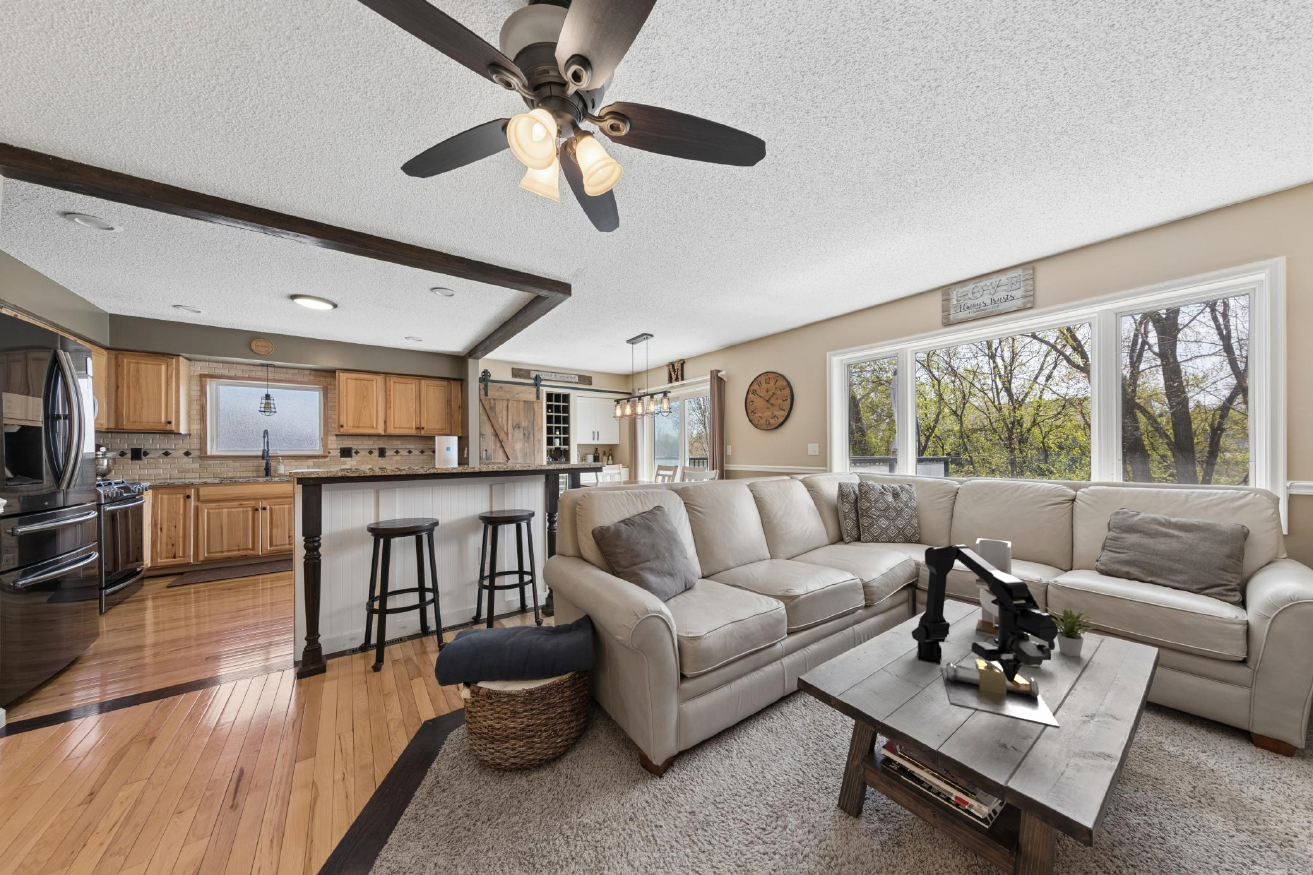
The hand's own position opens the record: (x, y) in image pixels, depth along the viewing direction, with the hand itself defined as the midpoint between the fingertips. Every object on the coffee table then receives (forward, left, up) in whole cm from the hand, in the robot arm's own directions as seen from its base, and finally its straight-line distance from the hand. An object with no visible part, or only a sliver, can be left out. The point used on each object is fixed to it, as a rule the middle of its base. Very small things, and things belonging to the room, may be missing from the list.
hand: (1010, 681), depth 125 cm
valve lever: (0, +6, -1) cm, 6 cm away
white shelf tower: (+8, +59, -8) cm, 61 cm away
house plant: (+29, +49, -8) cm, 58 cm away
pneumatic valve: (+13, +34, -8) cm, 38 cm away
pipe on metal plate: (-2, +7, -8) cm, 11 cm away
